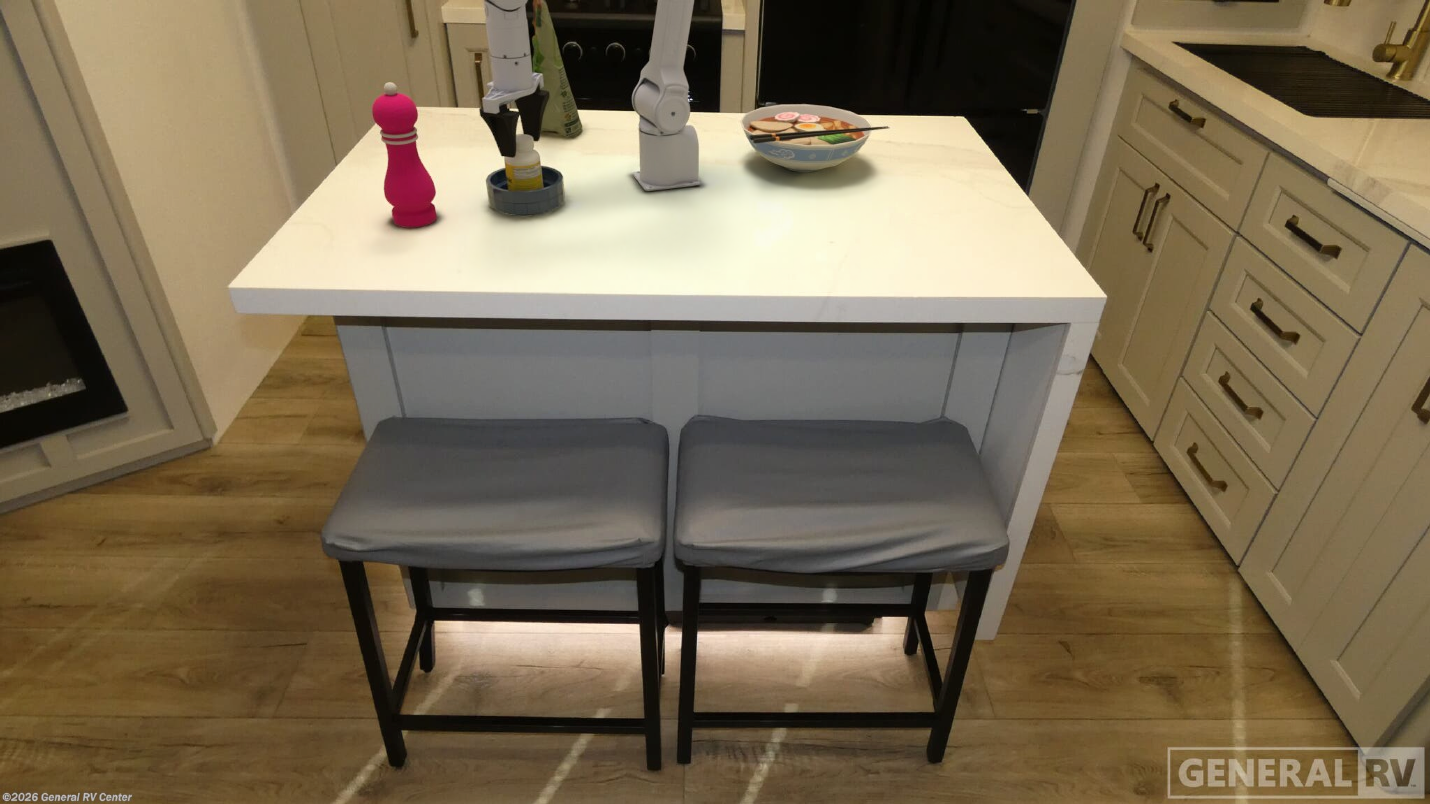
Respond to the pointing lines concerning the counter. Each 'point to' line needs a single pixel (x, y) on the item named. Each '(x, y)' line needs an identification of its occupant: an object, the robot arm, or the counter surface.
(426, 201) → the pepper mill
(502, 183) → the bowl
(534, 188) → the supplement bottle
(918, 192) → the counter surface
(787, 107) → the ramen bowl
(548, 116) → the pouch
